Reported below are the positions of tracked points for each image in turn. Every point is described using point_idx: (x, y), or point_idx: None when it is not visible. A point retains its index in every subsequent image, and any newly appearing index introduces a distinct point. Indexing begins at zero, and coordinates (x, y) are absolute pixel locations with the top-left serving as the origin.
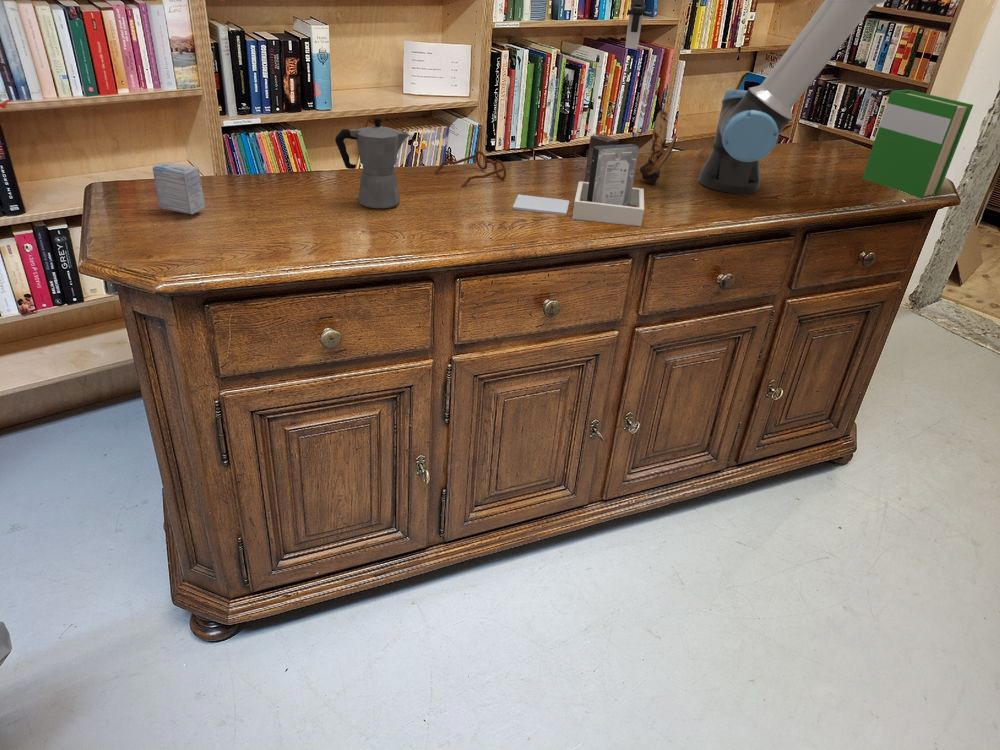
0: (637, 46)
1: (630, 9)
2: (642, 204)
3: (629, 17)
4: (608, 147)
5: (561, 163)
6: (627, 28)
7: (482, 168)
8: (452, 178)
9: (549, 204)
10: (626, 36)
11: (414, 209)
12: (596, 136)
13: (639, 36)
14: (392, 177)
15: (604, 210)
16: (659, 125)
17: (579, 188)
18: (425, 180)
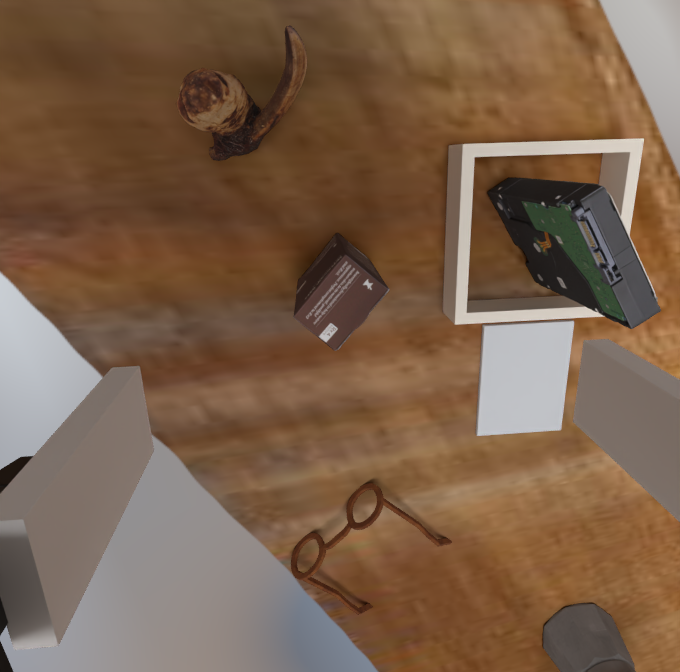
0: (619, 348)
1: (60, 636)
2: (603, 144)
3: (92, 566)
4: (636, 285)
5: (157, 386)
6: (128, 501)
7: (308, 539)
8: (399, 570)
9: (525, 364)
10: (145, 462)
11: (601, 574)
12: (340, 332)
13: (664, 372)
14: (619, 652)
15: None
16: (227, 105)
17: (514, 316)
18: (432, 606)
